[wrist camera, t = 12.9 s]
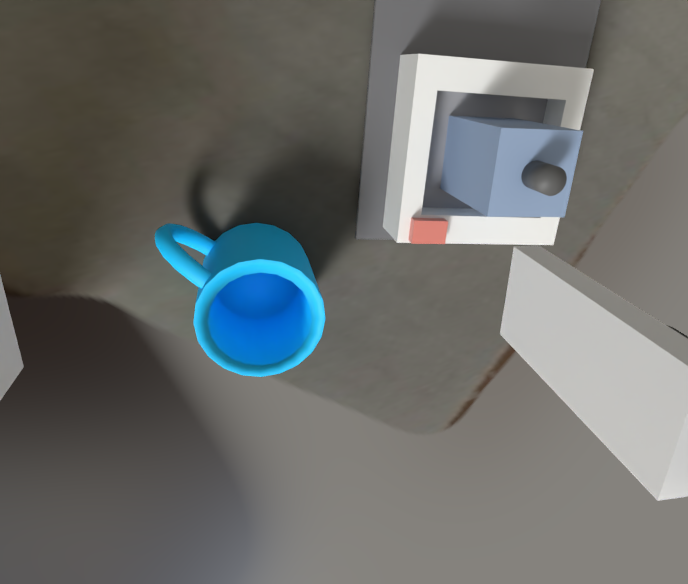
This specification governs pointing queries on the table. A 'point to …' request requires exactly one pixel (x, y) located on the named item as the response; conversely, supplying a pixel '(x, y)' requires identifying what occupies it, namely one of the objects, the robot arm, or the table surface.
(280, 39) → the table surface
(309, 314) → the mug
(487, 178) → the plug
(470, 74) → the socket
